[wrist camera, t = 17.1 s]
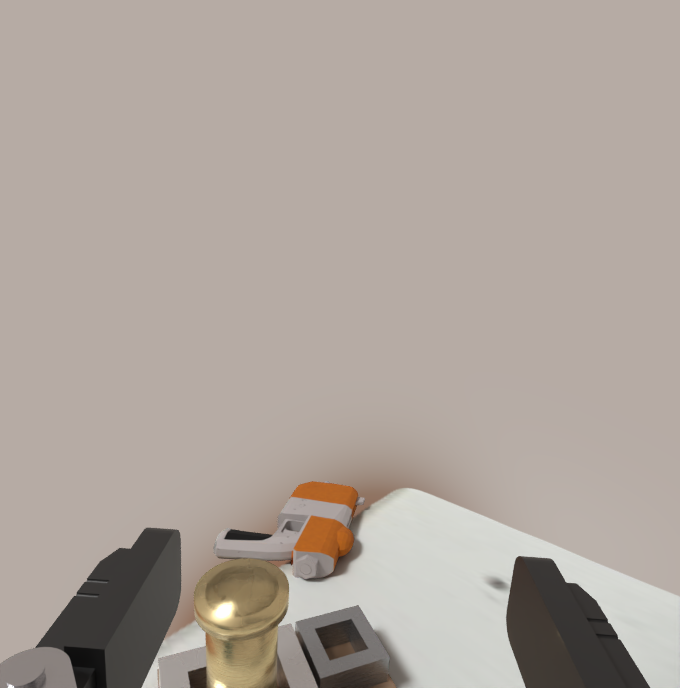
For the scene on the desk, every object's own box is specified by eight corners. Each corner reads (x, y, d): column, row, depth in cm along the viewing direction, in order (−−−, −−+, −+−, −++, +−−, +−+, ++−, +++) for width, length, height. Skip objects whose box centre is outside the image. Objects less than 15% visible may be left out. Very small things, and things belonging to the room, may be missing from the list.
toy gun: (210, 539, 57) (343, 561, 54) (268, 467, 75) (370, 480, 72) (210, 567, 58) (342, 590, 55) (268, 488, 76) (369, 503, 73)
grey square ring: (356, 627, 48) (358, 605, 48) (387, 681, 43) (389, 656, 42) (294, 645, 46) (295, 621, 45) (318, 704, 40) (320, 678, 40)
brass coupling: (270, 675, 43) (272, 550, 39) (297, 747, 37) (302, 608, 34) (191, 702, 40) (186, 570, 37) (206, 785, 34) (203, 638, 31)
